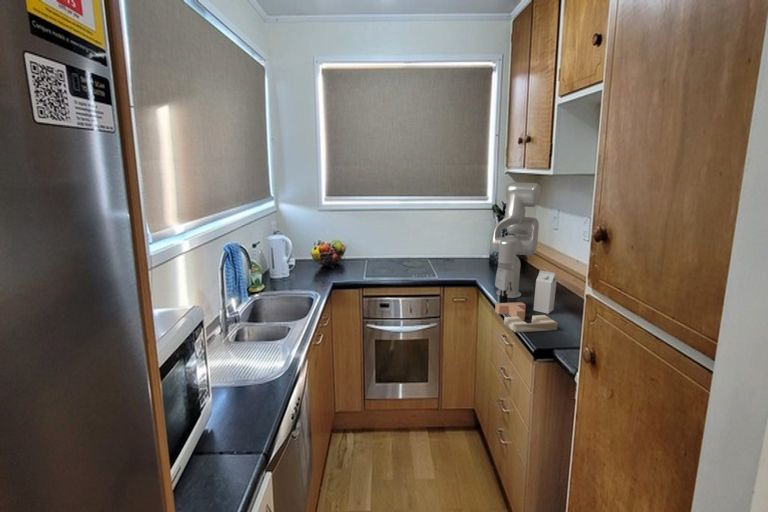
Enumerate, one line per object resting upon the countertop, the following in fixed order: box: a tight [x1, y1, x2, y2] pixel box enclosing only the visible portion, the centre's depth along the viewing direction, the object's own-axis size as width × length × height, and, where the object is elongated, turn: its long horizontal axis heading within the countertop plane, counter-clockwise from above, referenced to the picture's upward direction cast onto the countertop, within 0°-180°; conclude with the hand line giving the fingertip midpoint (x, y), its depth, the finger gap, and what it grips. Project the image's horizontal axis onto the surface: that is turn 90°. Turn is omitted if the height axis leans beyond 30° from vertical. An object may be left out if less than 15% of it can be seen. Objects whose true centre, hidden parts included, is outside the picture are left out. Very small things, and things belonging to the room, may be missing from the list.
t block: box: [494, 301, 527, 321], centre depth 199 cm, size 12×13×4 cm
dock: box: [503, 314, 559, 333], centre depth 185 cm, size 10×19×3 cm, turn 101°
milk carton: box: [533, 270, 558, 314], centre depth 204 cm, size 7×7×19 cm
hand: (503, 303), depth 209 cm, fingers closed
